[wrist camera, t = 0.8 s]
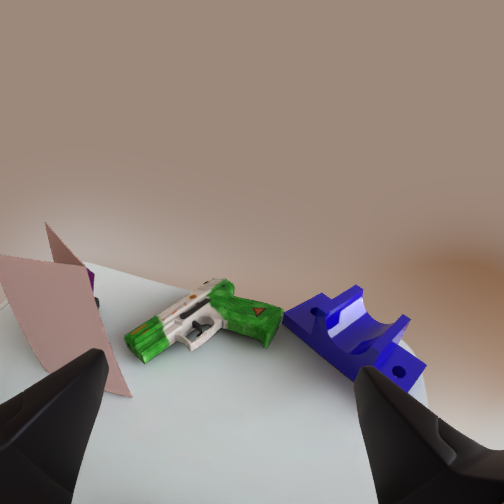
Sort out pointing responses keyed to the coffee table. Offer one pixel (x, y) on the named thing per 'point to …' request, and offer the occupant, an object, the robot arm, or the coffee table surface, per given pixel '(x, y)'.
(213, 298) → the handgun
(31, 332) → the greeting card
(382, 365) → the mounting bracket
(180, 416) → the coffee table surface
